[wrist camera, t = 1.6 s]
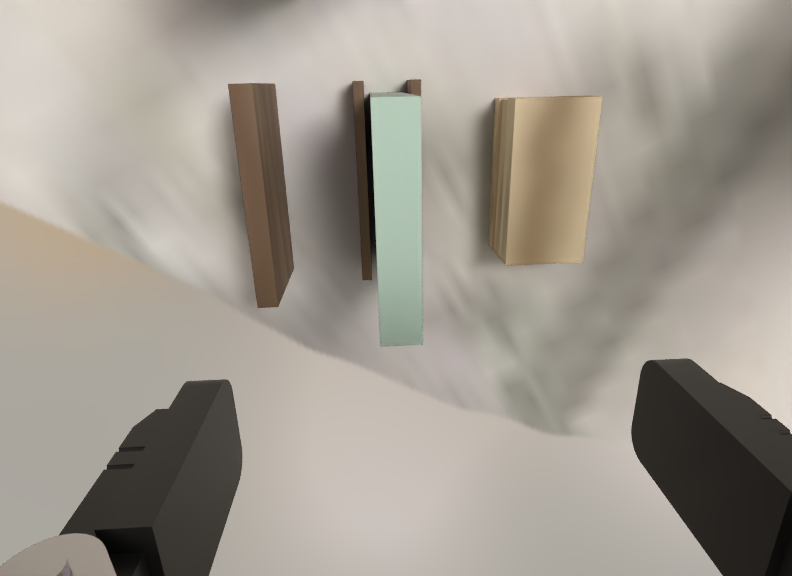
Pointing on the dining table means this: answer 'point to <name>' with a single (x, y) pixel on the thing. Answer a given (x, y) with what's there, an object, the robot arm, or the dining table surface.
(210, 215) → the dining table surface
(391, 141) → the sage sheet
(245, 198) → the walnut rack
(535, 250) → the offcut top
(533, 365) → the dining table surface
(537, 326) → the dining table surface
